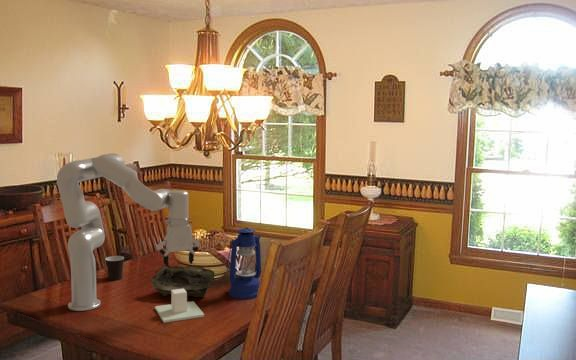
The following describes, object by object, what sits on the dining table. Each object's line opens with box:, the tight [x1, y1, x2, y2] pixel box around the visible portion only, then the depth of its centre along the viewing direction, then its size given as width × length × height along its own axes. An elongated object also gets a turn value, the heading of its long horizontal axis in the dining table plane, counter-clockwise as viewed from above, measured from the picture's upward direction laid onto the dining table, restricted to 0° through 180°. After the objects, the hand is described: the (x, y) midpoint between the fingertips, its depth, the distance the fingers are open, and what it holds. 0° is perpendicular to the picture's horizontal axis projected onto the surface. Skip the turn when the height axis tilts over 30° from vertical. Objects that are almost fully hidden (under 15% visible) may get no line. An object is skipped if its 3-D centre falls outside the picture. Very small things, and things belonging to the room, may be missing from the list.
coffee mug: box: [105, 255, 125, 282], centre depth 255 cm, size 12×9×10 cm
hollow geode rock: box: [150, 264, 216, 298], centre depth 234 cm, size 28×13×15 cm
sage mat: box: [154, 300, 205, 324], centre depth 213 cm, size 16×16×1 cm
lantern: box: [226, 227, 262, 300], centre depth 236 cm, size 17×15×30 cm
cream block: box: [170, 288, 188, 313], centre depth 212 cm, size 5×5×8 cm
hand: (178, 264), depth 211 cm, fingers open, 9 cm apart
